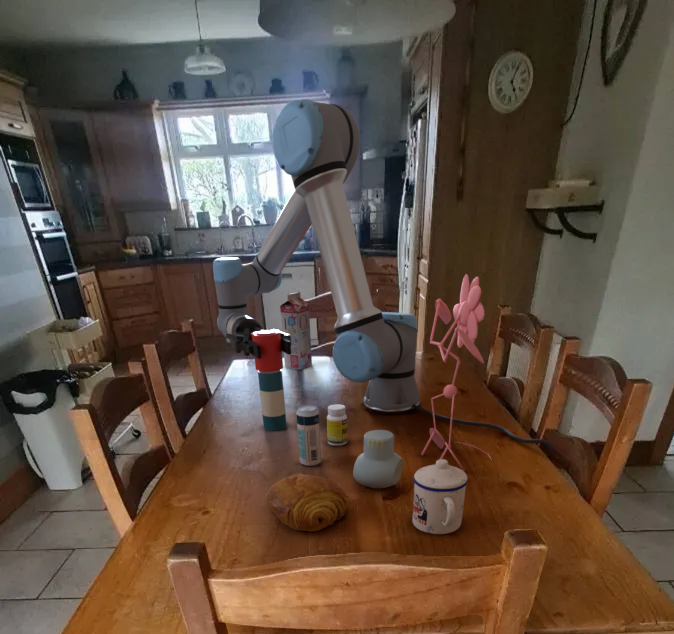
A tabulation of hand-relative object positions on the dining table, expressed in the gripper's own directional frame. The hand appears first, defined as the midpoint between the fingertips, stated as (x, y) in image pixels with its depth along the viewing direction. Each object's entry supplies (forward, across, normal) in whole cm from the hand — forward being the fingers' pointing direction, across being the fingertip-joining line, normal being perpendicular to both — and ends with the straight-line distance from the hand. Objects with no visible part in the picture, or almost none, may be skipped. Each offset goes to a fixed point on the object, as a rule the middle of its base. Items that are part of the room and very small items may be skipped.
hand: (274, 350), depth 124 cm
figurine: (+35, -28, -19) cm, 49 cm away
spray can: (-5, 0, -19) cm, 20 cm away
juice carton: (-58, -27, -19) cm, 67 cm away
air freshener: (+37, -8, -19) cm, 42 cm away
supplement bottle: (+13, -10, -19) cm, 25 cm away
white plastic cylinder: (+21, +1, -19) cm, 28 cm away
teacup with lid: (+58, -9, -19) cm, 62 cm away
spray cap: (-5, 0, -5) cm, 7 cm away
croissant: (+43, +10, -19) cm, 48 cm away
